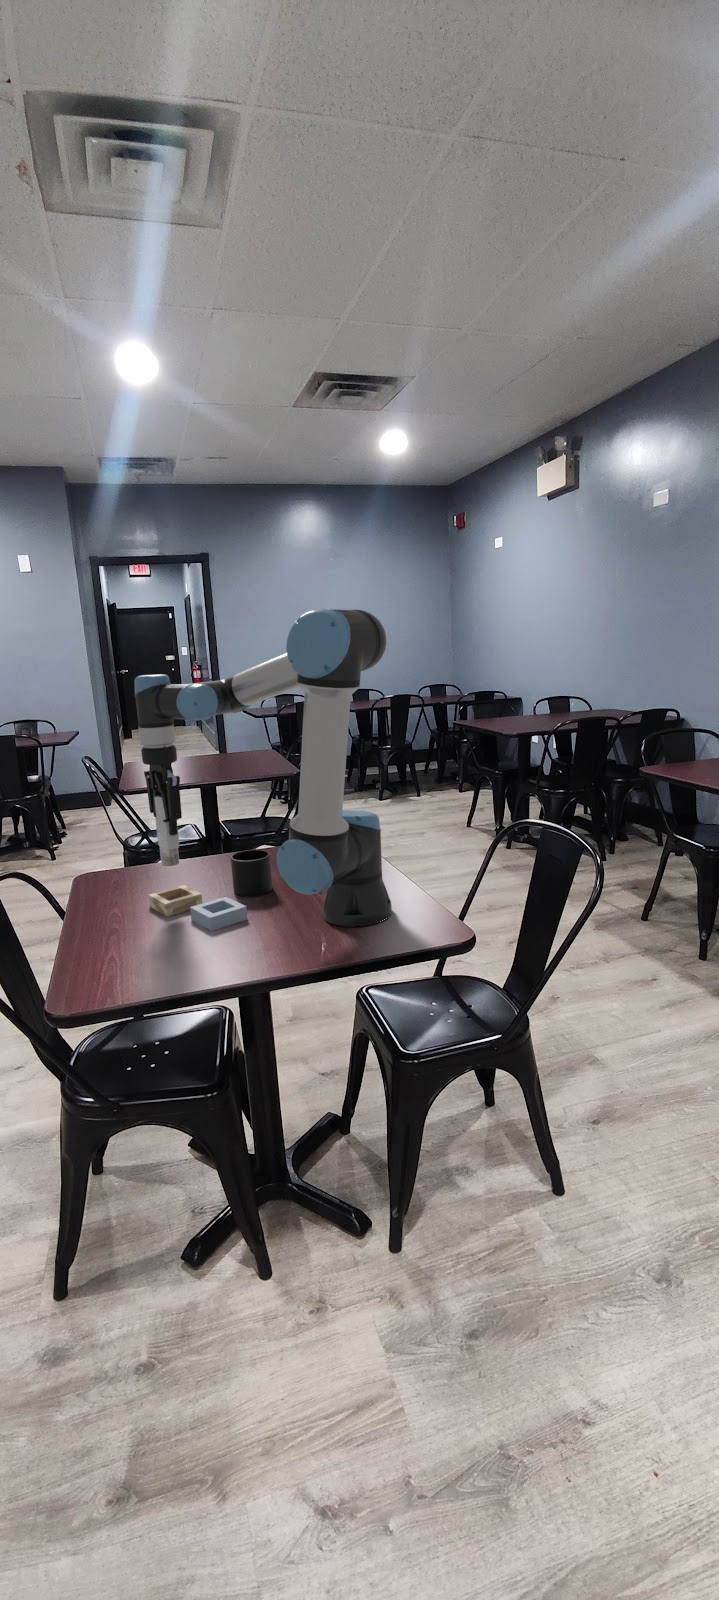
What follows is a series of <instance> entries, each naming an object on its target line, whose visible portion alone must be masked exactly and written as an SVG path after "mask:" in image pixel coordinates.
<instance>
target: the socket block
mask: <svg viewBox="0 0 719 1600" xmlns="http://www.w3.org/2000/svg"><path fill="white" fill-rule="evenodd" d="M189 911H190V919H191V921H192V922H195V923H196V924H198V925H199V926H201V927H203V928H204V929H206V930H209V931H210V932H213V931H215V930H219V929H222V928H225V927H228V926H232V925H234V924H237V923H240V922H243V921H246V920H248V918H249V917H248V909H247V905H244V904H242V903H240V902H238V901H237V900H234V899H232V898H230V897H227V896H224V897H220V898H217V899H213V900H209V901H207V902H202V904H199V905H196V906H192V907H190V910H189Z"/></svg>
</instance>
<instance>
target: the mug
mask: <svg viewBox="0 0 719 1600" xmlns="http://www.w3.org/2000/svg"><path fill="white" fill-rule="evenodd" d="M230 864H231V865H230V866H231V874H232V884H233V885H232V887H233V893H234V894H235V895H236V896H239V897H246V898H247V897H252V898H253V897H259V896H263V895H265V894H268V893H270V892H271V891H272V890H273V877H272V863H271V854H270V852H269V851H268V850H263V849H248V850H247V849H246V850H242V851H239V852H236V853H234V854H232V855H231V856H230Z"/></svg>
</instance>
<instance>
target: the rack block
mask: <svg viewBox="0 0 719 1600" xmlns="http://www.w3.org/2000/svg"><path fill="white" fill-rule="evenodd" d="M148 901H149V907H150V908H151V909H153V910H155V911H156V912H158V913H160V914H161V915H163V916H165V917H171V916H173V915H176V914H179V913H184V912H186V911H187V912H188V911H190V907H192V906H196V905H199V904H202V903H203V895H202V893H201V892H198V891H196V890H195V889H193V888H190V887H188V886H187V885H185V884H183V885H179V886H175V887H171V888H168V889H165V890H161V891H156V892H153V893H149V894H148Z"/></svg>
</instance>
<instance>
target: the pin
mask: <svg viewBox="0 0 719 1600" xmlns="http://www.w3.org/2000/svg"><path fill="white" fill-rule="evenodd" d="M154 799H155V808H156V817H157V827H158V836H159V845H160V846H159V845H158V846H159V854H160V861H161V863H160V864H161V866H162V867H172V866H173V867H174V866H177V865H179V864H180V855H179V848H174V849H170V850H168V849H167V843H166V833H165V824H164V822H163V820H166V817H165V811H164V806H163V801H162V795H157V796H154ZM156 817H155V818H156Z"/></svg>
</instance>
